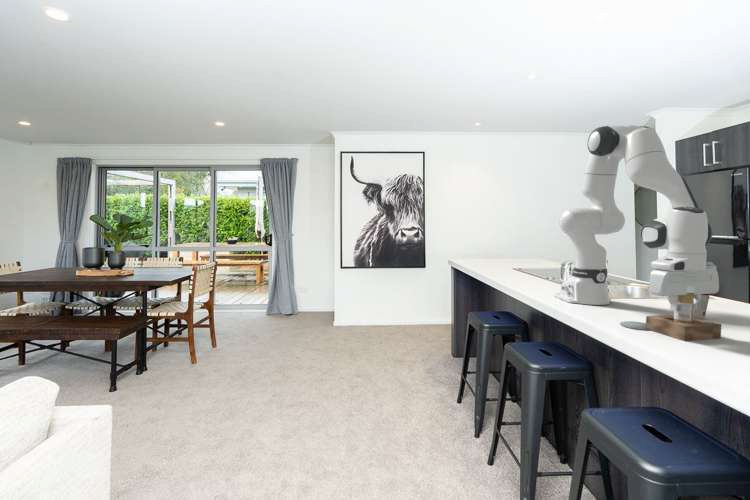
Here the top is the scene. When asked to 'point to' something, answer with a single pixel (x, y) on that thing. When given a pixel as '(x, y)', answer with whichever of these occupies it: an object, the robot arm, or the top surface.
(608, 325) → the top surface
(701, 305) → the coffee cup
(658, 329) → the holder block
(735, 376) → the top surface
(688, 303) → the sprinkles bottle
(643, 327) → the coaster
